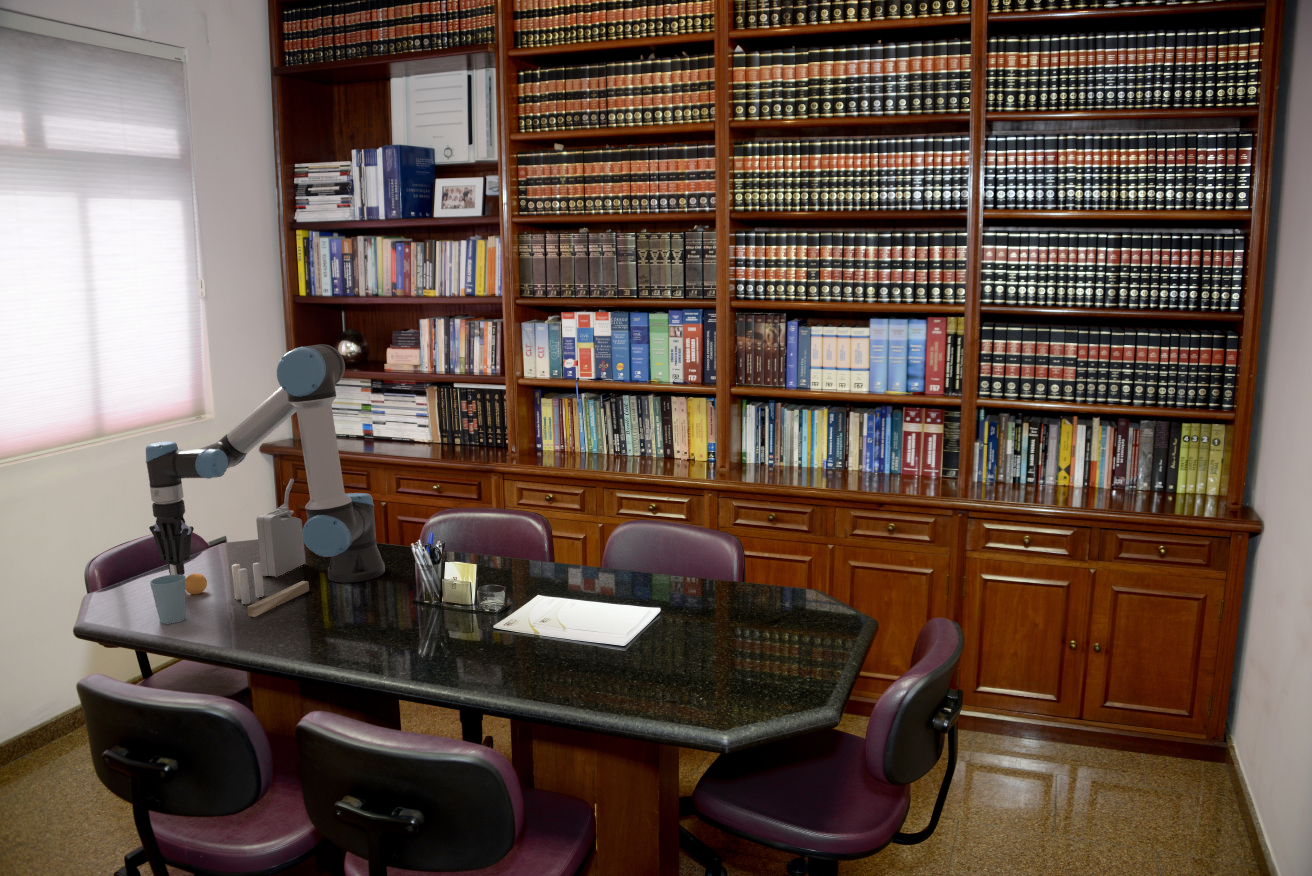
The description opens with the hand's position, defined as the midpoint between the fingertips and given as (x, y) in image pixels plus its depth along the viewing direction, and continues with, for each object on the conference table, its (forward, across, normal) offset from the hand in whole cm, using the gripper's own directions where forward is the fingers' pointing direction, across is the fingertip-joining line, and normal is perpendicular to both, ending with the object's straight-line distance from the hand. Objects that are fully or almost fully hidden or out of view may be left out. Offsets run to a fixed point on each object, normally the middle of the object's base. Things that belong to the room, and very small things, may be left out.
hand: (178, 586), depth 248 cm
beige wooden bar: (+2, +33, 0) cm, 33 cm away
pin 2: (+2, +24, +2) cm, 25 cm away
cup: (+2, +16, -17) cm, 23 cm away
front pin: (+2, +20, 0) cm, 20 cm away
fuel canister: (+2, +15, +24) cm, 28 cm away
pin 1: (+2, +25, -2) cm, 25 cm away
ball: (-1, +6, 0) cm, 6 cm away
